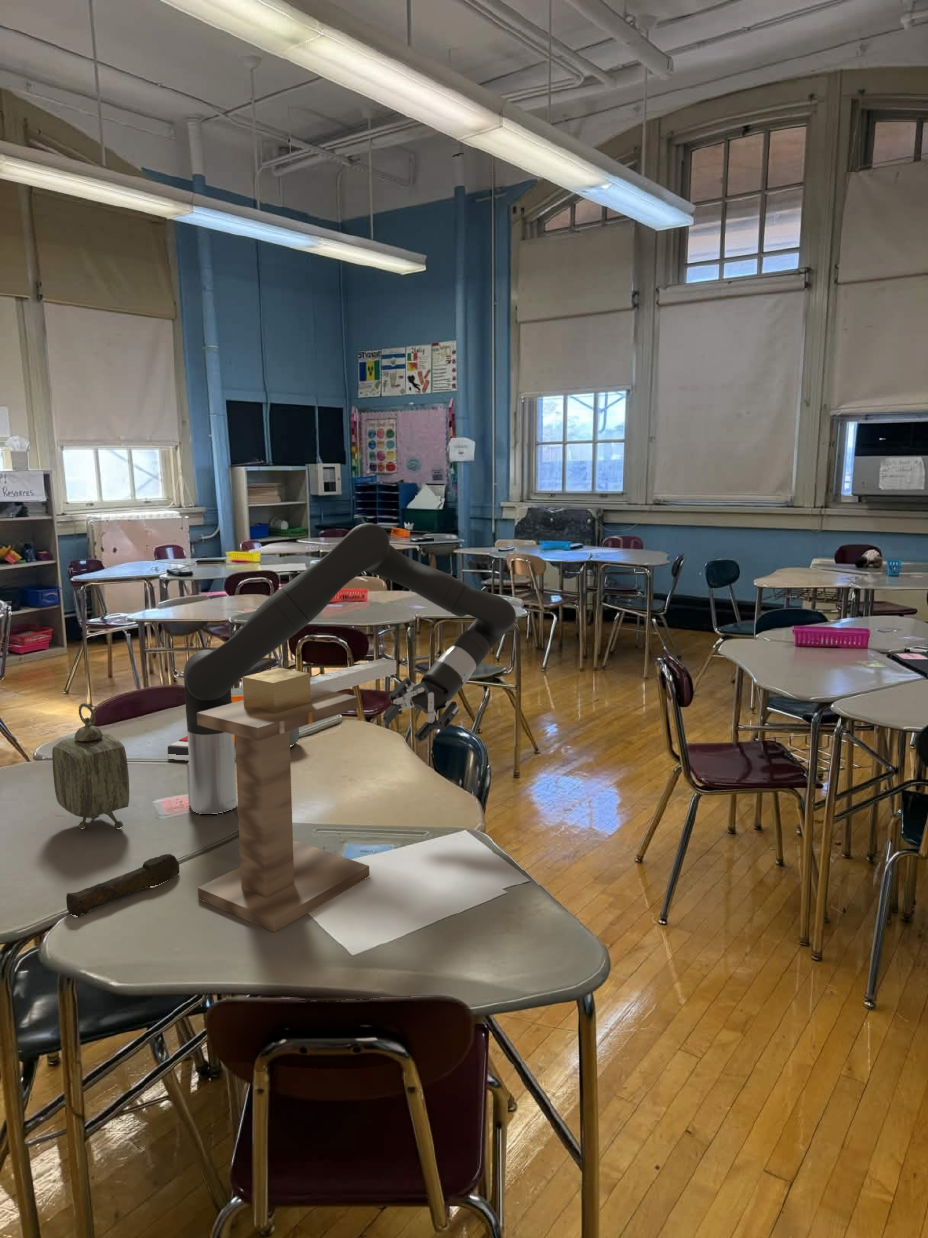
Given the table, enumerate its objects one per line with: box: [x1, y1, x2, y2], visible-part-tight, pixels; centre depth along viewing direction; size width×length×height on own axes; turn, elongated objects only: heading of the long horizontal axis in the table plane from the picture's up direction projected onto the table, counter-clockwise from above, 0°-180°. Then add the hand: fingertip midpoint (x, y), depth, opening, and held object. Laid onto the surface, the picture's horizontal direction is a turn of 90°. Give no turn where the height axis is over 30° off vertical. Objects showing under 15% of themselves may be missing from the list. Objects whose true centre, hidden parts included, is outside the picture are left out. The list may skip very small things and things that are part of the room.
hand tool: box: [65, 853, 180, 918], centre depth 138 cm, size 19×4×5 cm, turn 138°
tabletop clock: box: [51, 702, 130, 829], centre depth 163 cm, size 14×9×25 cm, turn 47°
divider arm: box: [242, 658, 397, 714], centre depth 145 cm, size 7×32×5 cm, turn 146°
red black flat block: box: [167, 735, 189, 755], centre depth 210 cm, size 11×4×15 cm
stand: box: [197, 691, 370, 933], centre depth 138 cm, size 18×22×32 cm
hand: (400, 730), depth 165 cm, fingers open, 8 cm apart
